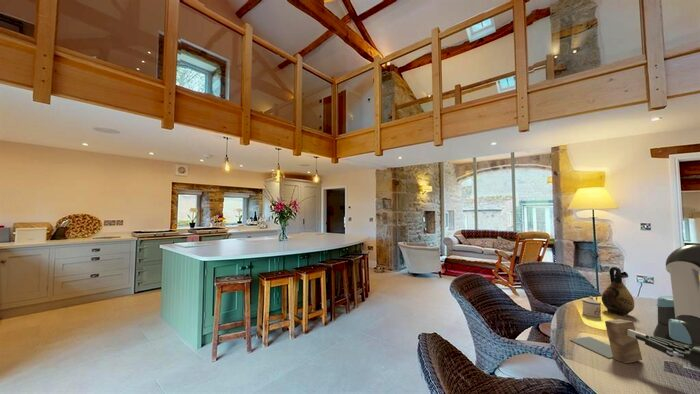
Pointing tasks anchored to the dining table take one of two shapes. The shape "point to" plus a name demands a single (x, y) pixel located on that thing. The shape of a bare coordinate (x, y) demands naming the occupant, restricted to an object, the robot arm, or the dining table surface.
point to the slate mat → (594, 346)
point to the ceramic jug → (617, 294)
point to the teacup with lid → (591, 307)
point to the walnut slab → (623, 341)
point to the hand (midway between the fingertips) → (628, 332)
